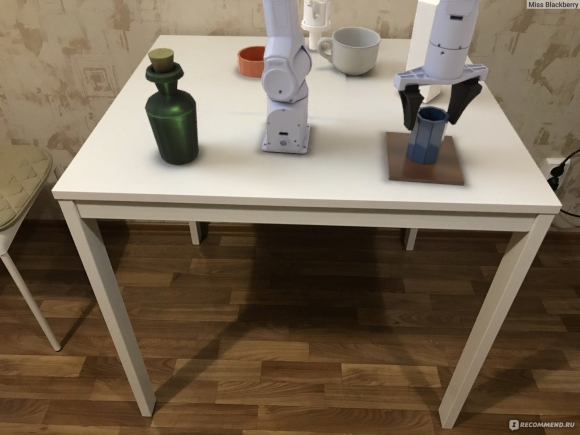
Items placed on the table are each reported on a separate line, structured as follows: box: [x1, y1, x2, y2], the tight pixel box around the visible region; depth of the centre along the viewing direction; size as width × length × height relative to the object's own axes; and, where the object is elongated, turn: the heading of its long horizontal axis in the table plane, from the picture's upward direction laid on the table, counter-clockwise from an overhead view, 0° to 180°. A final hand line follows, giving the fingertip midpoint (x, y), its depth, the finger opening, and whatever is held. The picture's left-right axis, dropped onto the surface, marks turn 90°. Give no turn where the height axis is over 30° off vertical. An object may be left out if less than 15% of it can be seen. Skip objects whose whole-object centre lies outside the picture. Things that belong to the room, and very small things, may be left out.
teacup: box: [316, 26, 382, 76], centre depth 103 cm, size 14×11×8 cm
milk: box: [405, 0, 443, 104], centre depth 90 cm, size 6×6×22 cm
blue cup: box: [406, 105, 450, 165], centre depth 76 cm, size 5×5×8 cm
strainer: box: [300, 0, 332, 51], centre depth 109 cm, size 7×7×15 cm
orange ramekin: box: [236, 45, 266, 78], centre depth 104 cm, size 9×9×4 cm
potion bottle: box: [144, 47, 200, 165], centre depth 74 cm, size 8×8×18 cm
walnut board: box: [384, 131, 465, 186], centre depth 79 cm, size 14×12×1 cm
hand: (429, 124), depth 75 cm, fingers open, 7 cm apart
